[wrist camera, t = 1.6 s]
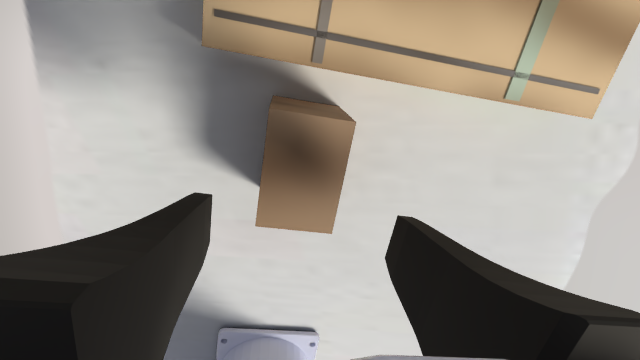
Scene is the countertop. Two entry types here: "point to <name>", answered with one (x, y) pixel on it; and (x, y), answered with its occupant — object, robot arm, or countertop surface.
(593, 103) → the oak board
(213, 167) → the countertop surface
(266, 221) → the walnut block
